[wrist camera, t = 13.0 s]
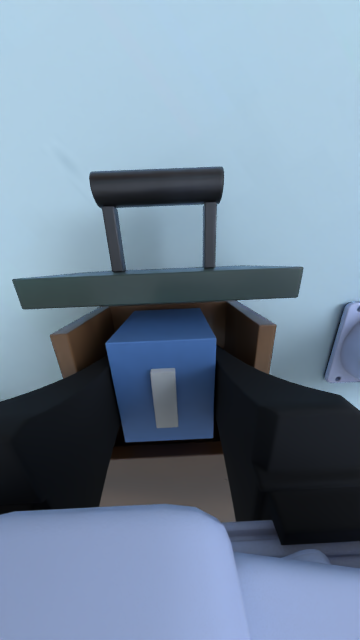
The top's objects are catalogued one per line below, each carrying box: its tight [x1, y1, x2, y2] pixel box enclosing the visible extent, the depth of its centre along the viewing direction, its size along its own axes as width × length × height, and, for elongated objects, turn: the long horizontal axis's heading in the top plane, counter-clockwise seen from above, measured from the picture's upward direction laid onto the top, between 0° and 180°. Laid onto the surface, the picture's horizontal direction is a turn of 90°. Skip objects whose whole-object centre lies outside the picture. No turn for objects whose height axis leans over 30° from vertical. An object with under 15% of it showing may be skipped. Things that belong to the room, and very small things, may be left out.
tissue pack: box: [105, 308, 216, 442], centre depth 9 cm, size 4×6×5 cm
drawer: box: [12, 167, 303, 446], centre depth 11 cm, size 17×11×6 cm, turn 2°
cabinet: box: [99, 441, 236, 523], centre depth 14 cm, size 13×12×8 cm
